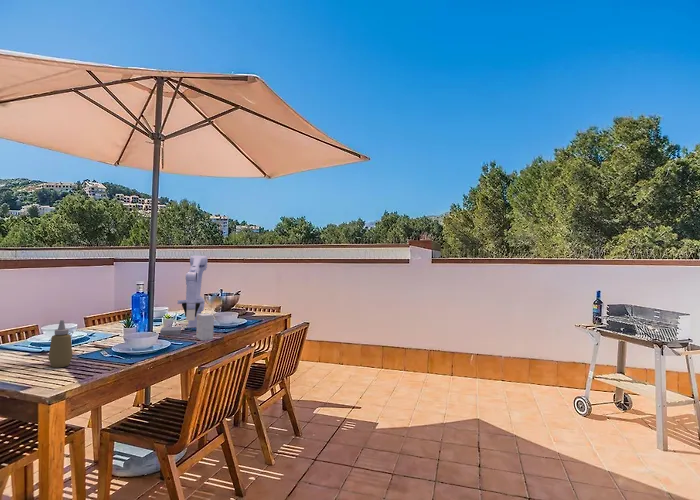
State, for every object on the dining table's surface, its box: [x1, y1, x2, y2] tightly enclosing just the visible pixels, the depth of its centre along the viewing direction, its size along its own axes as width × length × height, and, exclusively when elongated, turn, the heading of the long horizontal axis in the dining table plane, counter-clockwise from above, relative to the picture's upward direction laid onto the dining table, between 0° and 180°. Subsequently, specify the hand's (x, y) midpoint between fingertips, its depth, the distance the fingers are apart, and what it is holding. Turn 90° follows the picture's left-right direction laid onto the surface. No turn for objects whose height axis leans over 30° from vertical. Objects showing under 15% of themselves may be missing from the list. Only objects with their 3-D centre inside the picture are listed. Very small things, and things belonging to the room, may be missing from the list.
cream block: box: [185, 309, 195, 322], centre depth 257 cm, size 4×4×6 cm
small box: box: [195, 312, 215, 341], centre depth 240 cm, size 8×6×13 cm
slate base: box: [159, 326, 182, 336], centre depth 251 cm, size 10×10×2 cm
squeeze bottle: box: [48, 319, 73, 369], centre depth 178 cm, size 8×8×18 cm
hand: (190, 316), depth 258 cm, fingers closed on cream block, 4 cm apart
